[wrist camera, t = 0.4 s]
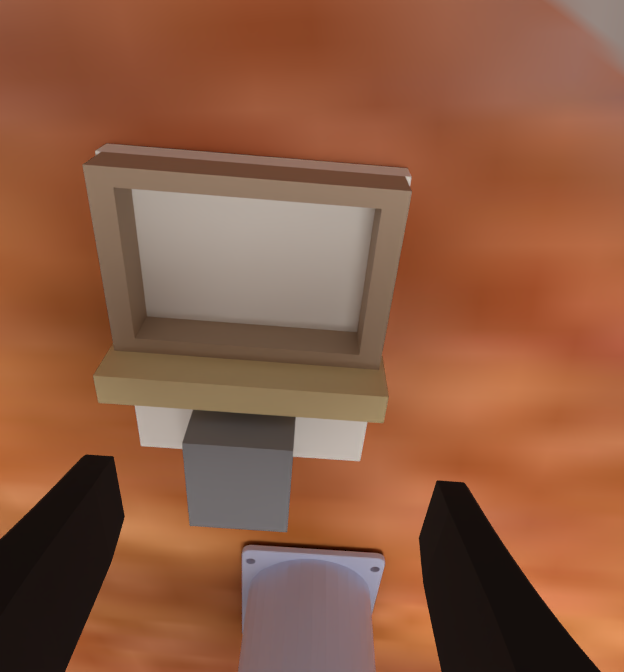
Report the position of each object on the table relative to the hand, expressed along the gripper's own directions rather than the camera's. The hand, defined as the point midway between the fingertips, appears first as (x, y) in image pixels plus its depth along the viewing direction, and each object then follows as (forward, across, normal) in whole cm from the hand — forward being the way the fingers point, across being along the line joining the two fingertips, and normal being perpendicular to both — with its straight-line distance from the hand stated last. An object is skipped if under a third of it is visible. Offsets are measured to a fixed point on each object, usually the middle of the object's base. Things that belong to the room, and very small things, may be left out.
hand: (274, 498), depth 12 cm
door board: (+10, +2, +1) cm, 10 cm away
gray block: (+9, +2, +6) cm, 11 cm away
